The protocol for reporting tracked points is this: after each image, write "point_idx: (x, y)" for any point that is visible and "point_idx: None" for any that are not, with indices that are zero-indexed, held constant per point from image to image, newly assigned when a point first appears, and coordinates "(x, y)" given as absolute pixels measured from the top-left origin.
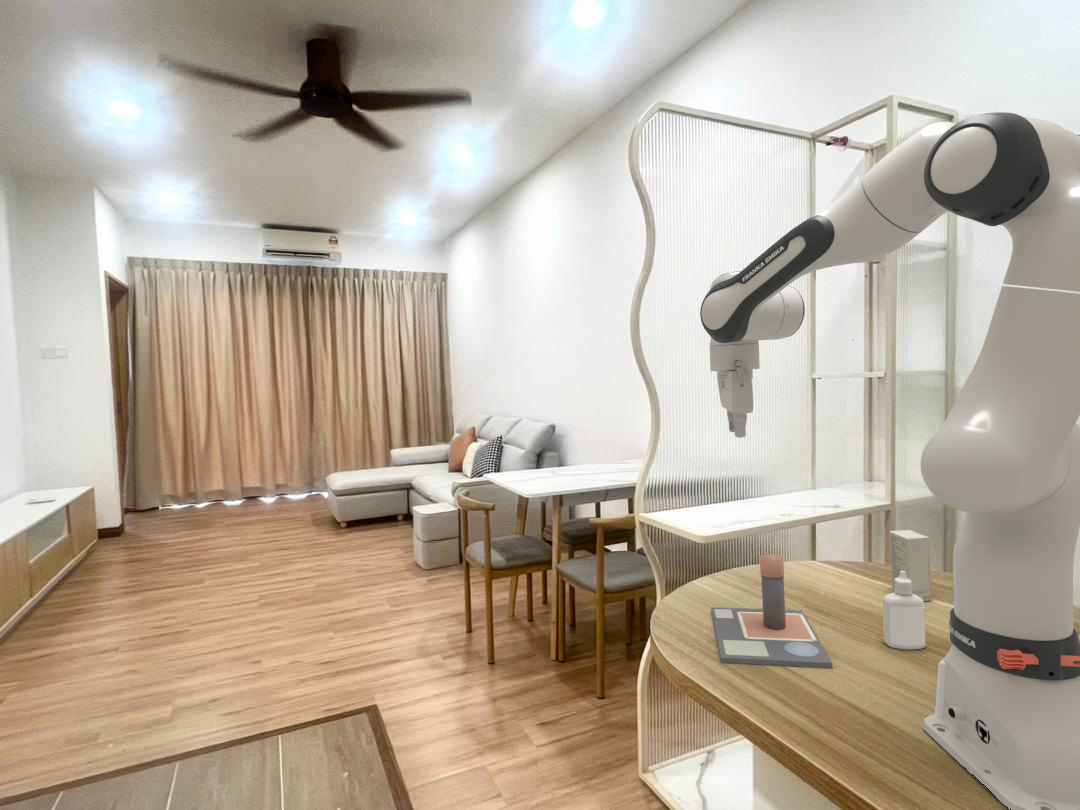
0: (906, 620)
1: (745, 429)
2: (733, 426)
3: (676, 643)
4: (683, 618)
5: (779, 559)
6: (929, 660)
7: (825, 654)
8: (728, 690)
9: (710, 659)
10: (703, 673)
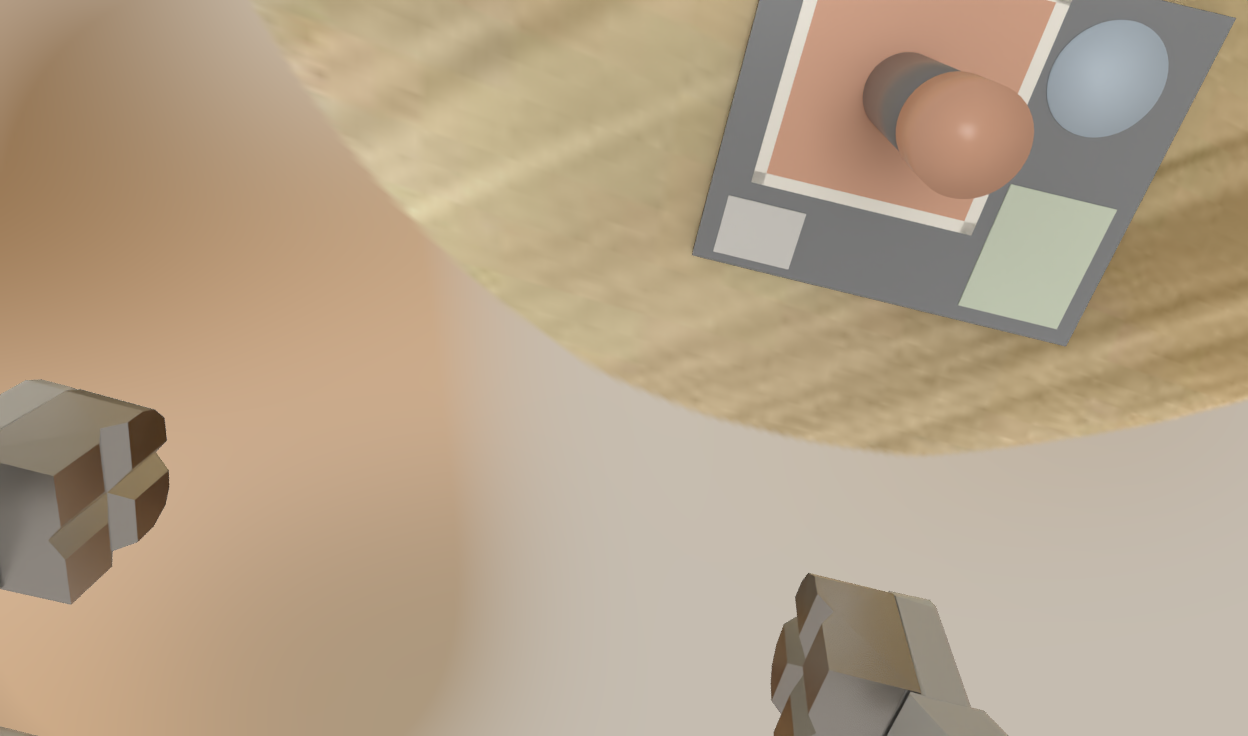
0: None
1: (957, 677)
2: (98, 516)
3: (902, 419)
4: (731, 352)
5: (1026, 119)
6: None
7: (1171, 10)
8: (1211, 372)
9: (1029, 361)
10: (1100, 403)
